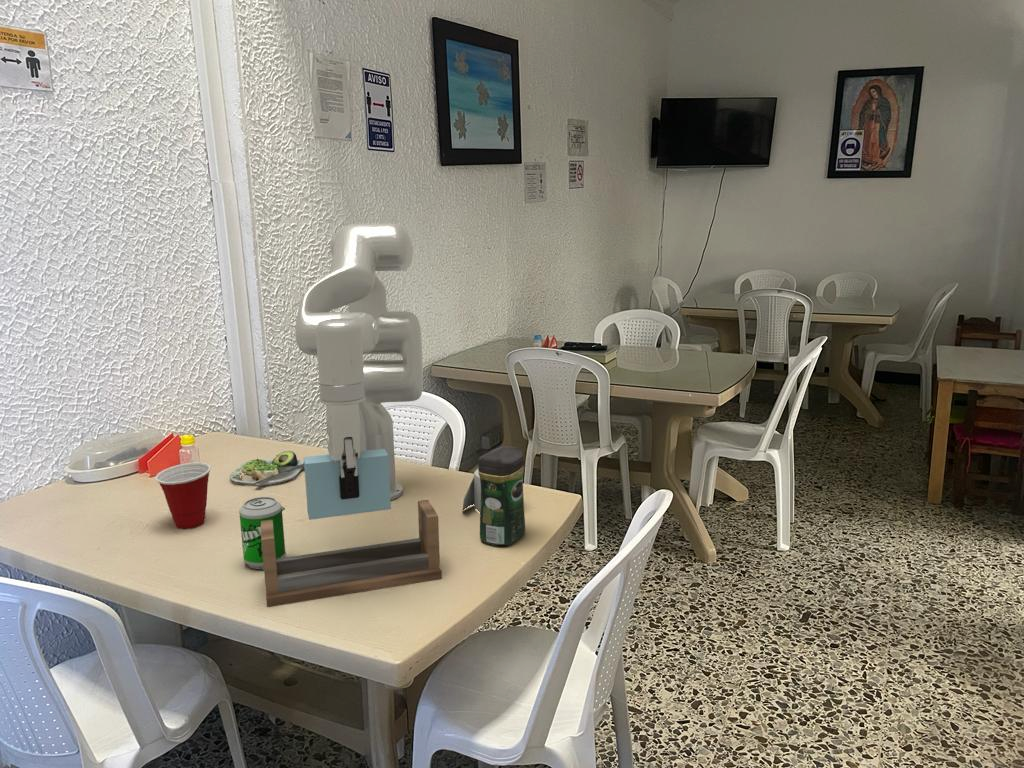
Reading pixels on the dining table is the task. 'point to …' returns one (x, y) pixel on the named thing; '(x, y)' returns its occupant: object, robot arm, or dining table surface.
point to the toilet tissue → (473, 493)
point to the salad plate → (269, 470)
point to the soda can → (251, 529)
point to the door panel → (327, 487)
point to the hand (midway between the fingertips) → (348, 492)
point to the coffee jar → (501, 495)
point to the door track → (352, 565)
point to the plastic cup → (186, 492)
